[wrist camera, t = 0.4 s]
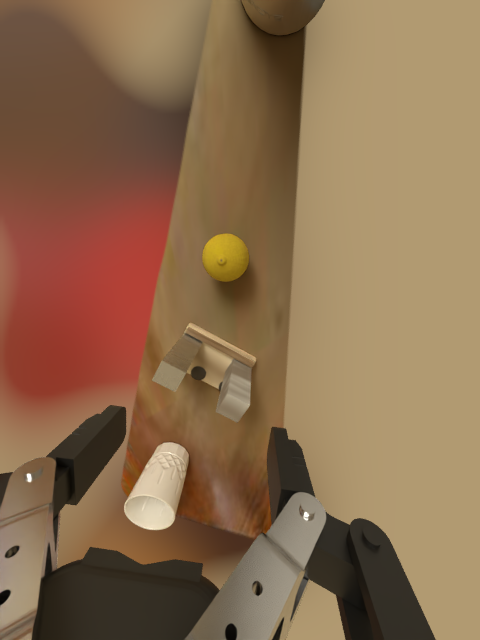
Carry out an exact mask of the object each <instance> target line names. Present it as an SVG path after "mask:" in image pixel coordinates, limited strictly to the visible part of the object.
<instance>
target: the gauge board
mask: <svg viewBox="0 0 480 640" xmlns="http://www.w3.org/2000/svg"><path fill="white" fill-rule="evenodd" d="M185 331H186V332H185V333H187V334H189V335H191V336H193V337H195V338H197V339H198V340H200V341H202V342H203V343H202V345H201V346H200V348H199V350H198V352H197V354H196V356H195V357H194V359H193V361H192V363H191V365H190V367H189V369H188V370H187V372H186V373H188V374H190V375H191V376H192V377H193V378H194V379H196V380H202V381H204V382H206V383H208V384H209V385H211V386H213V387H215V388H217V389H219V390H220V396H219V400H218V404H217V408H216V412H217V413H219V414H221V415H223V416H225V417H227V418H229V419H231V420H233V421H235V422H237V423H238V421H239V420H240V419H241V417H242V416H243V414H244V413H245V412H246V410H247V409H248V407H249V406H250V393H251V369H252V368H253V366H254V364H255V362H256V357H254V356H252V355H250V354H248V353H246V352H245V351H243V350H241V349H239V348H237V347H235V346H233V345H232V344H230V343H228V342H226V341H224V340H222V339H221V338H219V337H217V336H215V335H213V334H211V333H209V332H208V331H206V330H204V329H202V328H200V327H198V326H197V325H195V324H193V323H191V322H190V323H189V325H188V326H187V328H186V330H185Z"/></svg>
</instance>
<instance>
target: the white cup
mask: <svg viewBox="0 0 480 640" xmlns="http://www.w3.org/2000/svg"><path fill="white" fill-rule="evenodd" d="M188 463H189V454H188V452H187V451H186V449H185V448H184V447H182V446H181V445H179V444H176V443H172V442H168V443H163V444H161V445H159V446H158V447H157V448H156V450H155V452H154V454H153V456H152V457H151V459H150V460H149V461H148V463H147V465H146V467H145V468H144V470H143V472H142V474H141V475H140V477H139V479H138V481H137V483H136V484H135V486H134V488H133V490H132V492H131V493H130V495H129V497H128V499H127V501H126V503H125V505H124V511H125V514H126V516H127V517H128V519H129V520H130V521H132V522H133V523H134V524H136V525H137V526H139V527H142V528H145V529H149V530H161V529H165V528H167V527H169V526H171V525H172V523H173V522H174V520H175V516H176V512H177V508H178V504H179V500H180V497H181V493H182V489H183V485H184V480H185V476H186V470H187V467H188Z"/></svg>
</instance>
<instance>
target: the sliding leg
mask: <svg viewBox="0 0 480 640" xmlns="http://www.w3.org/2000/svg"><path fill="white" fill-rule="evenodd" d="M185 332H186V331H185ZM185 332H184V334H183V335H182V336H181V337H180V339H179V340H178V341H177V342H176V344H175V345H174V346H173V347H172V349H171V350H170V351H169V352H168V354H167V355H166V356H165V357H164V359H163V360H162V362H161V364H160V365H159V367H158V369H157V371H156V373H155V375H154V377H153V379H152V381H154V382H156V383H158V384H160V385H162V386H164V387H166V388H168V389H170V390H172V391H174V392H176V390H177V388H178V387H179V385H180V383H181V381H182V379H183V378H184V376H185V374H186V372H187V370H188V369H189V367H190V365H191V363H192V361H193V359H194V357H195V356H196V354H197V352H198V350H199V348H200V346H201V345H202V343H203V342H202V341H200V340H198V339H197V338H195V337H193V336H191V335H189V334H187V333H185Z"/></svg>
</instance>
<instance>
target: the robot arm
mask: <svg viewBox="0 0 480 640" xmlns="http://www.w3.org/2000/svg"><path fill="white" fill-rule="evenodd" d="M241 1H242V4H243V6H244V8H245V11H246V13H247V14H248V16H249V17H250V19H251V20H252V22H253V23H254V24H256V25H257V26H258V27H259V28H260V29H261V30H263V31H265V32H267V33H269V34H274V35H288V34H291V33H294V32H296V31H298V30H300V29H301V28H303V27H304V26H306V25H307V24H308V23H309V22H310V21H311V20H312V19H313V18H314V17H315V15H316V14H317V12H318V11H319V9H320V8H321V7H322V4H323V3H324V1H325V0H241ZM125 435H126V408H125V407H120V406H113V405H110V406H109V407H107V408H106V409H105V410H104V411H103V412H102V413H101V414H96V415H94V416H92V417H90V418H88V419H87V420H86V421H85V422H83V423H82V424H81V425H80V426H79V428H77V429H76V430H75V431H74V432H72V434H71V435H69V436H68V437H67V438H66V439H65V440H64V441H63V442H61V443H60V444H59V445H58V446H57V447H56V448H55V449H54V450H53V451H52V452H51V453H49V454H48V455H47V456H46V457H41V458H36V459H33V460H31V461H28V462H26V463H24V464H23V465H21V466H20V467H18V468H17V469H16V470H15V471H14V472H10V473H3V474H0V640H286V638H287V635H288V632H289V629H290V627H291V625H292V622H293V620H294V617H295V615H296V613H297V610H298V608H299V606H300V603H301V601H302V598H303V596H304V593H305V591H306V589H307V586H308V584H309V581H310V580H311V581H313V582H315V583H317V584H318V585H320V586H322V587H323V588H325V589H327V590H329V591H330V592H332V593H334V594H336V597H337V602H338V606H339V611H340V616H341V621H342V625H343V630H344V634H345V639H346V640H435V637H434V635H433V633H432V631H431V629H430V626H429V624H428V622H427V620H426V618H425V616H424V613H423V611H422V609H421V607H420V605H419V603H418V600H417V598H416V596H415V594H414V592H413V589H412V587H411V585H410V583H409V581H408V578H407V576H406V574H405V572H404V570H403V568H402V566H401V563H400V561H399V559H398V557H397V555H396V552H395V550H394V548H393V546H392V544H391V542H390V540H389V538H388V537H387V535H386V534H385V533H384V532H383V531H382V530H381V529H380V528H379V527H378V526H377V525H375V524H374V523H372V522H370V521H368V520H365V519H361V518H359V519H354V520H353V521H352V522H351V524H350V525H349V524H347V523H344V522H342V521H340V520H338V519H336V518H334V517H332V516H330V515H329V514H327V512H325V510H324V508H323V506H322V504H321V503H320V502H319V501H318V500H317V499H316V498H315V495H314V491H313V487H312V484H311V481H310V477H309V473H308V470H307V467H306V462H305V459H304V455H303V452H302V449H301V447H300V446H299V444H298V443H297V442H296V440H288V436H287V431H286V429H285V428H277V427H272V428H271V433H270V439H269V445H268V452H267V470H268V483H269V495H270V508H271V521H272V526H271V528H270V529H269V531H268V532H267V533H266V534H264V533H261V534H260V535H259V536H258V537H257V538H256V540H255V541H254V543H253V544H252V546H251V547H250V548H249V550H248V551H247V553H246V554H245V555H244V557H243V558H242V560H241V561H240V562H239V564H238V565H237V567H236V568H235V570H234V571H233V572H232V574H231V575H230V577H229V578H228V580H227V581H226V582H225V584H224V585H223V587H222V588H221V589H220V590H219V589H218V588H217V587H216V586H215V585H214V584H213V583H212V582H211V581H209V580H208V579H207V578H205V577H203V576H202V567H203V564H202V563H195V562H188V561H182V560H169V561H163V562H157V563H152V564H147V565H142V564H139V563H138V562H136V561H134V560H132V559H130V558H129V557H127V556H125V555H124V554H122V553H120V552H118V551H114V550H107V549H99V548H93V547H90V548H89V550H88V552H87V553H86V555H85V557H84V558H83V559H81V560H77V561H74V562H71V563H69V564H66V565H64V566H62V567H60V568H58V569H57V557H58V541H59V526H60V510H61V509H62V508H63V507H64V505H65V504H70V505H77V504H78V502H79V501H80V500H81V498H82V497H83V496H84V494H85V493H86V492H87V490H88V489H89V487H90V486H91V485H92V483H93V482H94V481H95V479H96V478H97V477H98V475H99V474H100V472H101V471H102V470H103V469H104V467H105V466H106V465H107V463H108V462H109V460H110V459H111V458H112V456H113V455H114V454H115V452H116V451H117V450H118V448H119V447H120V446H121V444H122V443H123V441H124V438H125Z"/></svg>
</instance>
